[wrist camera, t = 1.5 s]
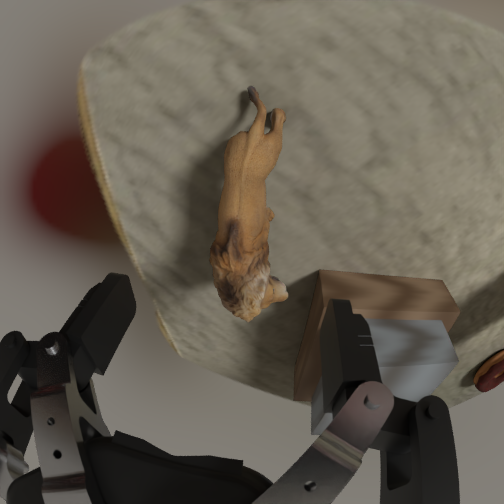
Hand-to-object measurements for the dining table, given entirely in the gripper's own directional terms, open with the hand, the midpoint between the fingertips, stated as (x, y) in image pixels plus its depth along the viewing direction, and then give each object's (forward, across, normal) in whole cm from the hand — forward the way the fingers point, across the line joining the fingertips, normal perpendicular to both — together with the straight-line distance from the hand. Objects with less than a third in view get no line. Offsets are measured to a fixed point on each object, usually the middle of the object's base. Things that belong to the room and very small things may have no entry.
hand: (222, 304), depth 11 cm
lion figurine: (+14, 0, 0) cm, 14 cm away
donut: (+13, -45, +25) cm, 53 cm away
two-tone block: (+13, -13, +15) cm, 24 cm away
